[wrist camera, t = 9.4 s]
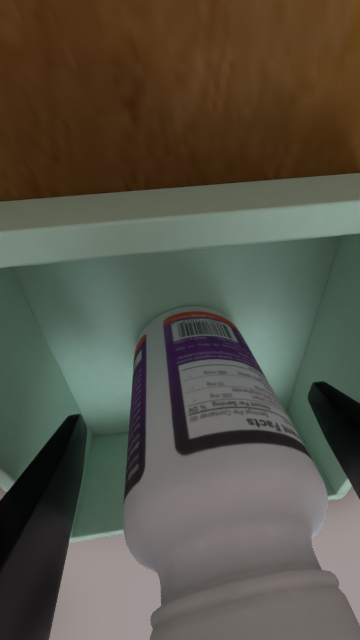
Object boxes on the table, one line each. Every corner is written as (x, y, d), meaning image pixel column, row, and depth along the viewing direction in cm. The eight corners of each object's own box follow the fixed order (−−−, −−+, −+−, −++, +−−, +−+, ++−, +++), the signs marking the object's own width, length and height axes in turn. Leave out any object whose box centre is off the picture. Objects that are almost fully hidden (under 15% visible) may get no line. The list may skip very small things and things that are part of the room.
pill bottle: (182, 398, 14) (227, 713, 6) (111, 349, 11) (21, 789, 3) (259, 347, 12) (462, 681, 4) (197, 278, 10) (416, 777, 2)
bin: (289, 406, 17) (343, 498, 12) (88, 434, 16) (63, 544, 11) (362, 172, 9) (595, 179, 4) (-27, 203, 8) (-263, 254, 3)
